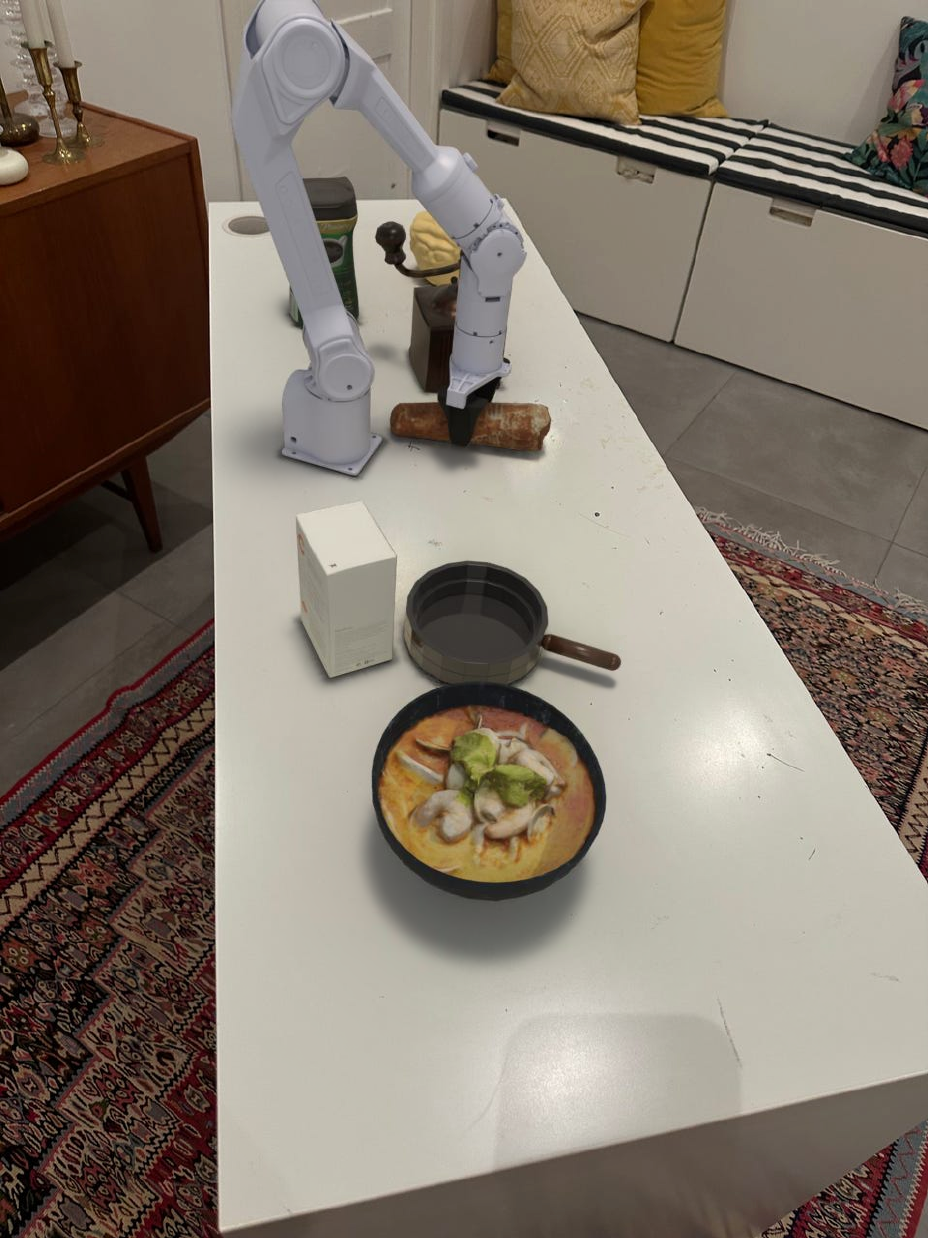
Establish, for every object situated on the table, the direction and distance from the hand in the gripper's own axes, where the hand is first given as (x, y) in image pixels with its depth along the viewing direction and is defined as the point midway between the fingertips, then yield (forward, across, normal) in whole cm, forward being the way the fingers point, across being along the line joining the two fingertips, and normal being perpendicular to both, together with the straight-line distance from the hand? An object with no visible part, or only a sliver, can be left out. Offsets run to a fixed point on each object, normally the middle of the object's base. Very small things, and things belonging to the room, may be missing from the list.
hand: (468, 428), depth 105 cm
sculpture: (+2, +39, +16) cm, 42 cm away
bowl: (+2, -51, -18) cm, 54 cm away
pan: (+2, -31, -11) cm, 33 cm away
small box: (+2, -36, 0) cm, 36 cm away
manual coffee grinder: (+2, +13, +9) cm, 16 cm away
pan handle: (0, -31, -21) cm, 38 cm away
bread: (+2, -1, 0) cm, 2 cm away
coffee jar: (+2, +19, +28) cm, 34 cm away
